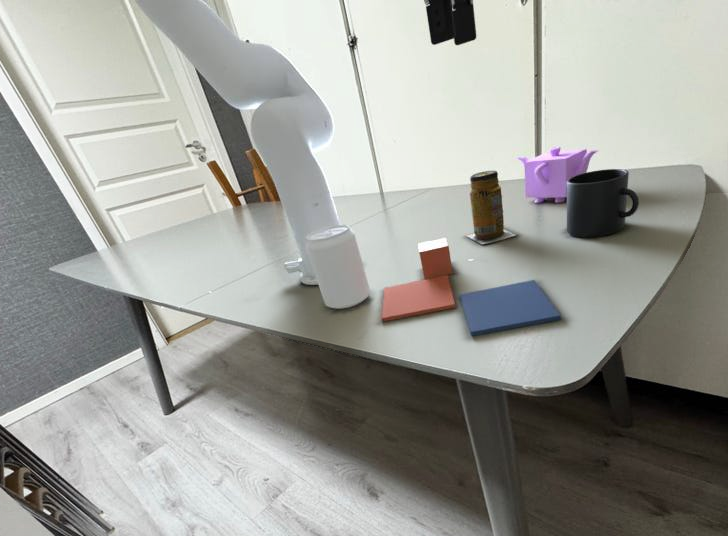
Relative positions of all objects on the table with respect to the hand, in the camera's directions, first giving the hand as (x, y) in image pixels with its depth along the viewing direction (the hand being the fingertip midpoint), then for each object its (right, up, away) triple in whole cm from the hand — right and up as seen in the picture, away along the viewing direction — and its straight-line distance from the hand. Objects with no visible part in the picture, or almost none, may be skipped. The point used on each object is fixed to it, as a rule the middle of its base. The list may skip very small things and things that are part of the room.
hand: (455, 42), depth 56 cm
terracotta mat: (-5, -34, +9) cm, 36 cm away
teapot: (+30, -5, +41) cm, 51 cm away
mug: (+29, -21, +17) cm, 39 cm away
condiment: (+11, -19, +27) cm, 35 cm away
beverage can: (-16, -34, +14) cm, 40 cm away
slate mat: (+7, -37, 0) cm, 37 cm away
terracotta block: (-1, -28, +17) cm, 33 cm away
